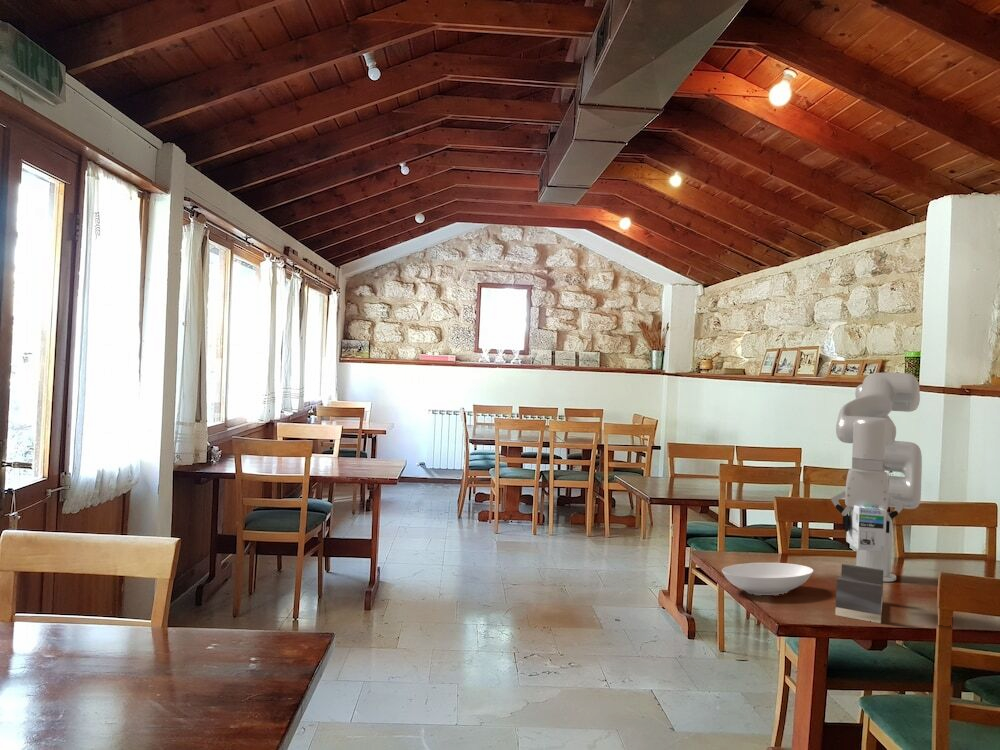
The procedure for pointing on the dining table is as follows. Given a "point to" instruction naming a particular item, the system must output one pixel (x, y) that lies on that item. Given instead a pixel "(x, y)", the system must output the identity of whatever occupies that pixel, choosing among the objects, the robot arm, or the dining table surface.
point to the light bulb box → (867, 528)
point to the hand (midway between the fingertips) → (865, 532)
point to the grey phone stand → (859, 593)
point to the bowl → (767, 577)
